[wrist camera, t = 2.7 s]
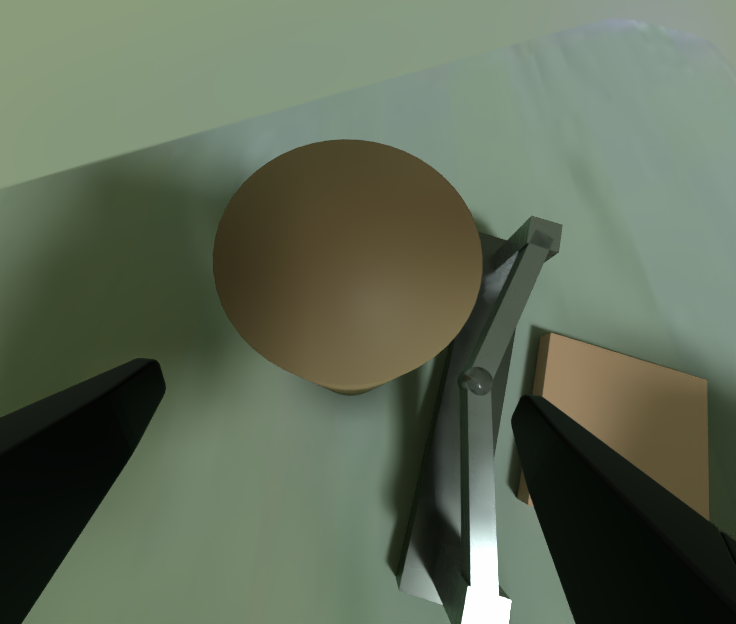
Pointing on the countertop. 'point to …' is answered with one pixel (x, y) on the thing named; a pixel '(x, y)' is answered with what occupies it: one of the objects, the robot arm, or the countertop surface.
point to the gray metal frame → (472, 440)
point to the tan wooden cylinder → (347, 263)
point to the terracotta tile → (631, 412)
